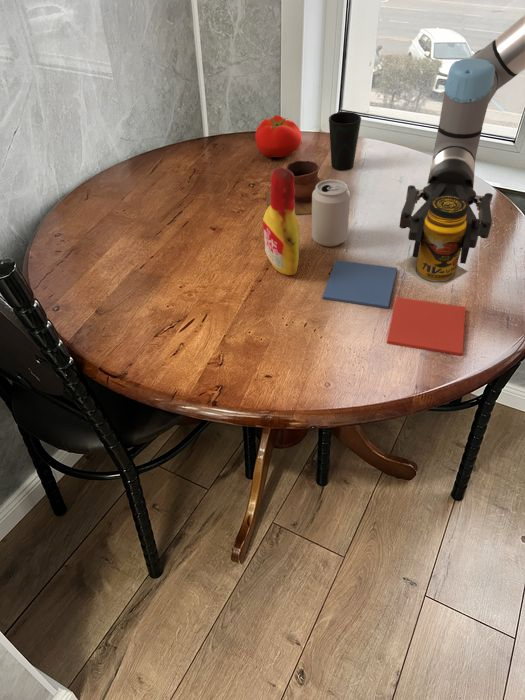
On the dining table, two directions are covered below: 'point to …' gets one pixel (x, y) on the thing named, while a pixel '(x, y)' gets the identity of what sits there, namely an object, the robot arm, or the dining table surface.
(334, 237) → the can
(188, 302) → the dining table surface
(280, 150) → the tomato
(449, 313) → the mat red
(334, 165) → the cup
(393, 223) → the dining table surface
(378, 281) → the mat blue
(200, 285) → the dining table surface
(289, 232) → the bottle
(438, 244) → the condiment
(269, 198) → the ceramic pot
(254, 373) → the dining table surface
